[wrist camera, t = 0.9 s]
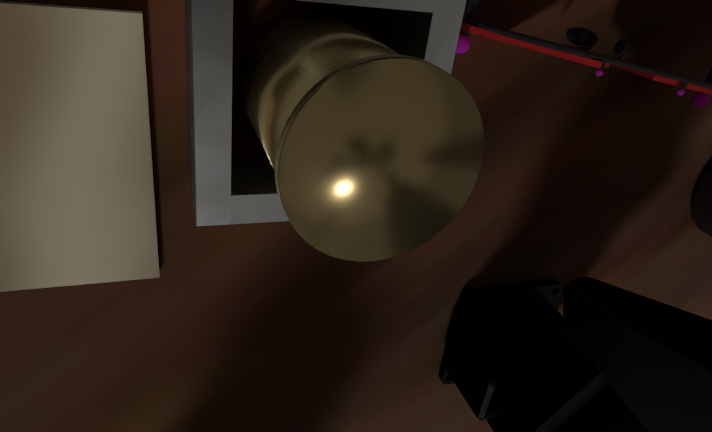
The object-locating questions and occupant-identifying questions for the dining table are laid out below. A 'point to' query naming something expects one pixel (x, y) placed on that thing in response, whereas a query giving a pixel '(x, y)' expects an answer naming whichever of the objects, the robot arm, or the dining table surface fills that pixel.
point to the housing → (214, 101)
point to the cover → (358, 135)
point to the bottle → (703, 202)
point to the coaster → (74, 148)
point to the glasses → (579, 53)
